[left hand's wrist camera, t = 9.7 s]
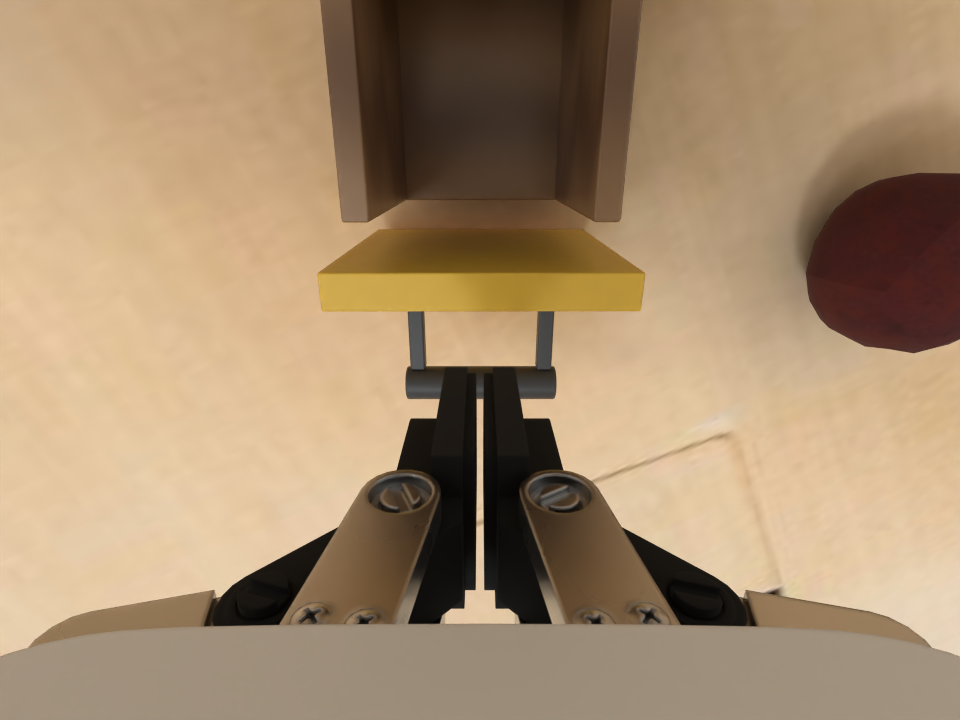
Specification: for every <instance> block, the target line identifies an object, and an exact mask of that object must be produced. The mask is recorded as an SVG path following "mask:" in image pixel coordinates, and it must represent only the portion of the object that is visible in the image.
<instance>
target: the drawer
mask: <svg viewBox="0 0 960 720" xmlns="http://www.w3.org/2000/svg"><path fill="white" fill-rule="evenodd" d="M320 2H321V12H322V23H323V33H324V43H325V54H326V64H327V74H328V84H329V95H330V105H331V115H332V125H333V136H334V146H335V156H336V166H337V177H338V187H339V197H340V208H341V218H342V222H369V221H371V220H372V219H374V218H376V217H378V216H379V215H381V214H383V213H384V212H386V211H388V210H390V209H391V208H393V207H395V206H397V205H398V204H400V203H402V202H403V201H405V200H557V201H559V202H561V203H562V204H564V205H566V206H568V207H570V208H571V209H573V210H575V211H577V212H579V213H580V214H582V215H584V216H586V217H588V218H589V219H591V220H593V221H595V222H619V221H620V219H621V212H622V201H623V191H624V181H625V171H626V161H627V151H628V140H629V130H630V120H631V110H632V100H633V89H634V79H635V69H636V59H637V49H638V38H639V28H640V18H641V8H642V0H320ZM644 280H645V273H644V272H643V271H641V270H640V269H638V268H637V267H636V266H634V265H633V264H631V263H630V262H629V261H627V260H626V259H624V258H623V257H621V256H620V255H619V254H617V253H616V252H614V251H613V250H611V249H610V248H609V247H607V246H606V245H604V244H603V243H601V242H600V241H599V240H597V239H596V238H594V237H593V236H591V235H590V234H589V233H587V232H586V231H584V230H583V229H379V230H377V231H376V232H375V233H373V234H372V235H370V236H369V237H368V238H366V239H365V240H363V241H362V242H361V243H359V244H358V245H356V246H355V247H354V248H352V249H351V250H349V251H348V252H347V253H345V254H344V255H342V256H341V257H340V258H338V259H337V260H335V261H334V262H333V263H331V264H330V265H328V266H327V267H326V268H324V269H323V270H321V271H320V272H319V273H318V283H319V291H320V300H321V308H322V311H408V325H409V343H410V362H411V366H409V367H408V368H407V371H406V395H407V398H408V399H440V395H441V389H442V383H443V377H444V371H445V367H468V373H476V398H477V399H483V398H484V373H492V367H515V371H516V377H517V383H518V389H519V395H520V399H554V398H555V395H556V371H555V368H554V367H553V366H551V360H552V342H553V324H554V311H640V310H641V305H642V296H643V288H644ZM424 311H538V316H537V339H536V363H535V364H536V366H426V343H425V319H424Z"/></svg>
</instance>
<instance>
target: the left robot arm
mask: <svg viewBox="0 0 960 720" xmlns="http://www.w3.org/2000/svg"><path fill="white" fill-rule="evenodd" d="M476 499H477V398H476V373H468V367H445V371H444V377H443V383H442V389H441V395H440V401H439V407H438V413H437V419H410V422H409V426H408V430H407V433H406V437H405V441H404V445H403V448H402V452H401V456H400V460H399V463H398V467H397V470H396V471H390V472H386V473H384V474H381V475H378V476H376V477H375V478H373V479H372V480H370V481H368V482H367V483H366V484H365V486H364V487H363V488H362V489H361V491H360V492H359V494H358V496H357V497H356V499H355V501H354V502H353V504H352V506H351V507H350V509H349V511H348V512H347V514H346V515H345V517H344V519H343V520H342V522H341V524H340V525H339V527H338V528H336V529H334V530H332V531H330V532H328V533H326V534H325V535H323V536H321V537H319V538H317V539H315V540H313V541H311V542H310V543H308V544H306V545H304V546H302V547H300V548H298V549H296V550H295V551H293V552H291V553H289V554H287V555H285V556H283V557H282V558H280V559H278V560H276V561H274V562H272V563H270V564H268V565H267V566H265V567H263V568H261V569H259V570H257V571H255V572H253V573H252V574H250V575H248V576H246V577H244V578H243V579H241V580H240V581H238V582H237V583H235V584H234V585H232V586H231V587H230V588H229V589H228V590H227V591H226V592H225V593H224V594H223V595H222V597H218V598H216V594H215V590H211V591H205V592H200V593H194V594H188V595H183V596H177V597H171V598H165V599H160V600H154V601H148V602H142V603H137V604H131V605H125V606H120V607H114V608H108V609H102V610H97V611H91V612H87V613H84V614H80V615H77V616H74V617H71V618H69V619H67V620H65V621H63V622H61V623H59V624H57V625H55V626H53V627H51V628H50V629H49V630H47V631H46V632H45V633H43V634H42V635H41V636H39V637H38V638H37V639H35V640H34V641H33V643H32V644H31V645H30V646H29V647H28V648H26V649H22V650H19V651H15V652H12V653H9V654H6V655H3V656H1V657H0V720H960V657H959V656H957V655H954V654H951V653H948V652H945V651H941V650H938V649H934V648H932V647H931V646H930V645H929V644H928V643H927V641H926V640H925V639H923V638H922V637H921V636H919V635H918V634H917V633H915V632H914V631H913V630H911V629H910V628H909V627H907V626H905V625H903V624H901V623H899V622H897V621H895V620H893V619H891V618H889V617H886V616H883V615H880V614H876V613H873V612H869V611H863V610H858V609H852V608H846V607H840V606H835V605H829V604H823V603H818V602H812V601H806V600H800V599H795V598H789V597H783V596H777V595H772V594H766V593H760V592H755V591H749V590H745V594H744V598H742V597H738V595H737V594H736V593H735V592H734V591H733V590H732V589H731V588H730V587H729V586H728V585H726V584H725V583H723V582H722V581H720V580H719V579H717V578H716V577H714V576H712V575H710V574H708V573H707V572H705V571H703V570H701V569H699V568H697V567H695V566H693V565H692V564H690V563H688V562H686V561H684V560H682V559H680V558H678V557H677V556H675V555H673V554H671V553H669V552H667V551H665V550H664V549H662V548H660V547H658V546H656V545H654V544H652V543H650V542H649V541H647V540H645V539H643V538H641V537H639V536H637V535H635V534H634V533H632V532H630V531H628V530H626V529H624V528H622V527H621V525H620V524H619V522H618V520H617V519H616V517H615V515H614V514H613V512H612V511H611V509H610V507H609V506H608V504H607V502H606V501H605V499H604V497H603V496H602V494H601V492H600V491H599V489H598V488H597V487H596V486H595V484H594V483H593V482H592V481H590V480H588V479H587V478H585V477H584V476H582V475H579V474H576V473H574V472H570V471H564V470H563V467H562V463H561V460H560V456H559V452H558V448H557V445H556V441H555V437H554V433H553V430H552V426H551V422H550V419H523V413H522V407H521V401H520V395H519V389H518V383H517V377H516V371H515V367H492V373H484V398H483V499H484V590H495V605H496V609H510V610H511V611H513V612H514V613H515V624H445V613H446V612H447V611H449V610H450V609H464V605H465V590H476Z"/></svg>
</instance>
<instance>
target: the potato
mask: <svg viewBox="0 0 960 720" xmlns="http://www.w3.org/2000/svg"><path fill="white" fill-rule="evenodd" d="M806 277H807V287H808V295H809V299H810V302H811V304H812V305H813V307H814V309H815V311H816V312H817V314H818V316H819V318H820V319H821V320H822V321H823V322H824V323H825V324H826V325H827V326H828V327H829V328H831V329H832V330H834V331H836V332H838V333H840V334H842V335H844V336H846V337H847V338H849V339H851V340H853V341H855V342H857V343H859V344H861V345H863V346H867V347H876V348H885V349H892V350H898V351H904V352H910V353H916V352H920V351H924V350H928V349H932V348H936V347H940V346H944V345H948V344H950V343H953V342H955V341H957V340H959V339H960V174H952V173H916V174H910V175H904V176H898V177H893V178H888V179H883V180H879V181H877V182H874V183H872V184H870V185H868V186H866V187H863V188H861V189H859V190H857V191H855V192H854V193H853V194H852V195H851V196H850V197H848V198H847V199H846V200H845V201H844V202H843V203H842V204H840V205H839V206H838V207H837V208H836V209H835V210H834V211H833V213H832V214H831V216H830V217H829V219H828V221H827V222H826V224H825V226H824V227H823V229H822V231H821V233H820V234H819V236H818V238H817V239H816V241H815V243H814V246H813V250H812V253H811V257H810V260H809V264H808V267H807V271H806Z"/></svg>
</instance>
